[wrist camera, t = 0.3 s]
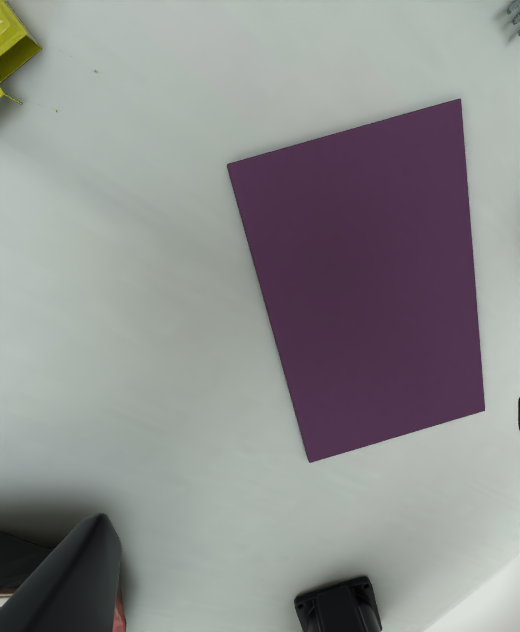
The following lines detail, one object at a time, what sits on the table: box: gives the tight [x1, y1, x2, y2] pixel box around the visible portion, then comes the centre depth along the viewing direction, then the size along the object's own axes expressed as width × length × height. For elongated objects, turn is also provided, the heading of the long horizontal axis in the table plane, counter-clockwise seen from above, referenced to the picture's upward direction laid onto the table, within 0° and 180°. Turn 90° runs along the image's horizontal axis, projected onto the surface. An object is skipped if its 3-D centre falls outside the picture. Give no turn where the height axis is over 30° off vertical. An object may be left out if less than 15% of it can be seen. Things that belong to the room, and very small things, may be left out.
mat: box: [227, 99, 485, 463], centre depth 22 cm, size 20×13×1 cm, turn 15°
